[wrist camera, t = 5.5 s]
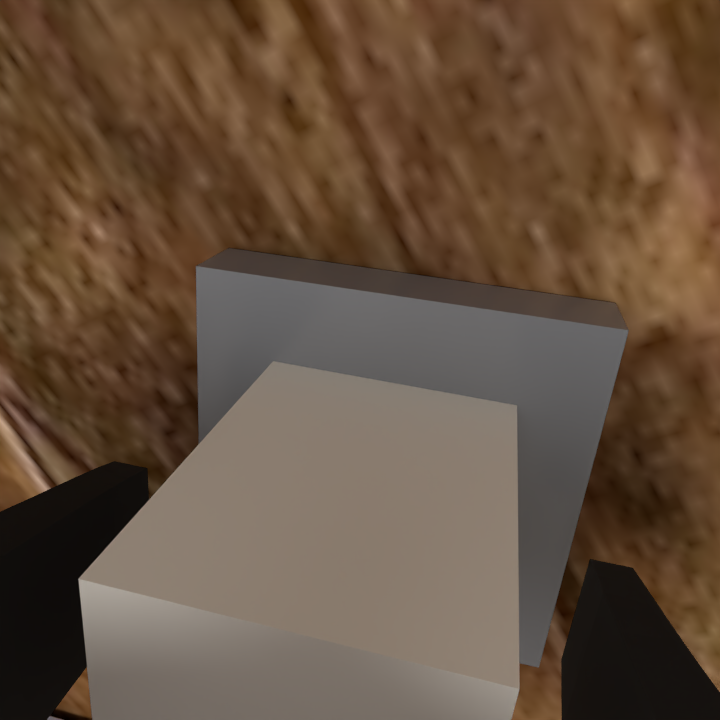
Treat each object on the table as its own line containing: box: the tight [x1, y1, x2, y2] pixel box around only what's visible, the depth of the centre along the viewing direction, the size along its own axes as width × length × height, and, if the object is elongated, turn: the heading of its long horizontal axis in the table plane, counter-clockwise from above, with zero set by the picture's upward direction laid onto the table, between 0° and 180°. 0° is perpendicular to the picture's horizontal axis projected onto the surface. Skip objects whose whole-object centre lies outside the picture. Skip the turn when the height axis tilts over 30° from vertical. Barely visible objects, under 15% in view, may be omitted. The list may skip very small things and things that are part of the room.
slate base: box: [196, 248, 629, 668], centre depth 13 cm, size 8×8×2 cm
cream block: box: [78, 361, 520, 720], centre depth 10 cm, size 4×4×6 cm
